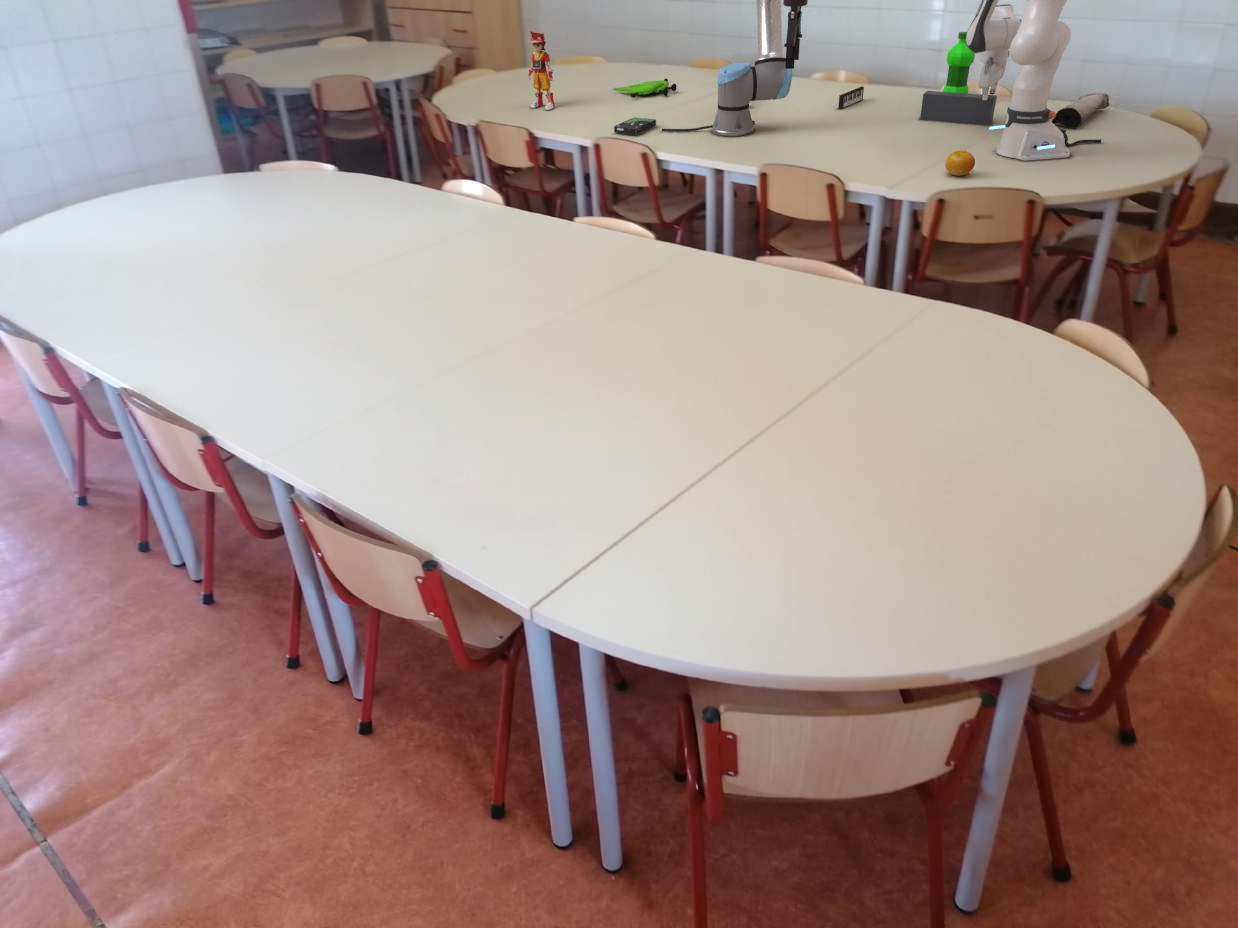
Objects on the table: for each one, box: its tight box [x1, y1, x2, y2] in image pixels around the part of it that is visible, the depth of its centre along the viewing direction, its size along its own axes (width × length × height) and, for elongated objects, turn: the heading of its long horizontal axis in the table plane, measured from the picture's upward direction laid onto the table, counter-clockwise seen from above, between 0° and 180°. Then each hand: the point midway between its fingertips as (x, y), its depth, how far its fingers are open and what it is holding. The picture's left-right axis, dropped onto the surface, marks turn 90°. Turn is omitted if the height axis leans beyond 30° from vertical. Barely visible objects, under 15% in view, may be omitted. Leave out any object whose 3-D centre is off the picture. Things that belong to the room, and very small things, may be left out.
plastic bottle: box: [942, 31, 976, 94], centre depth 348 cm, size 10×10×25 cm
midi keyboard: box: [837, 85, 865, 110], centre depth 359 cm, size 18×1×5 cm, turn 138°
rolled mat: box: [1051, 92, 1110, 129], centre depth 325 cm, size 30×9×10 cm
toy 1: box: [527, 31, 556, 111], centre depth 374 cm, size 12×9×30 cm
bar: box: [919, 90, 998, 126], centre depth 330 cm, size 25×5×9 cm, turn 58°
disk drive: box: [613, 116, 657, 136], centre depth 344 cm, size 10×3×15 cm
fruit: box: [944, 150, 976, 177], centre depth 280 cm, size 8×8×8 cm
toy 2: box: [612, 78, 677, 99], centre depth 396 cm, size 28×5×30 cm
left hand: (792, 64), depth 293 cm, fingers open, 13 cm apart
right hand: (988, 97), depth 323 cm, fingers open, 8 cm apart
